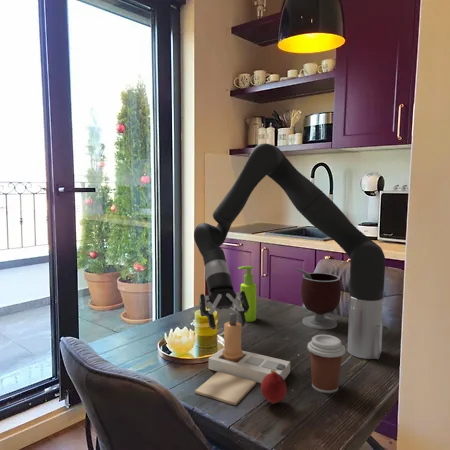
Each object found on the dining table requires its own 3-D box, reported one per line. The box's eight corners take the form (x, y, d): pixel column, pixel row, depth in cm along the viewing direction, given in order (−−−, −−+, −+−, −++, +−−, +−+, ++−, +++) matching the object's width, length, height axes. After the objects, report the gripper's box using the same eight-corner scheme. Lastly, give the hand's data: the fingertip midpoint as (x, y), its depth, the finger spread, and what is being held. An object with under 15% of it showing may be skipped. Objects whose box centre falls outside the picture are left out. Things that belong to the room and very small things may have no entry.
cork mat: (255, 384, 98) (255, 381, 98) (235, 405, 88) (235, 403, 88) (217, 373, 103) (217, 371, 103) (195, 392, 93) (195, 390, 93)
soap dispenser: (235, 317, 146) (235, 265, 144) (252, 315, 149) (253, 264, 146) (240, 322, 141) (241, 268, 139) (258, 320, 143) (259, 267, 141)
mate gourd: (336, 317, 147) (338, 265, 145) (342, 331, 133) (344, 274, 131) (295, 315, 149) (296, 264, 147) (296, 328, 135) (297, 272, 133)
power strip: (290, 372, 104) (290, 360, 103) (277, 387, 96) (278, 374, 96) (224, 356, 113) (224, 345, 113) (208, 369, 106) (208, 357, 105)
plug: (246, 364, 108) (246, 312, 107) (236, 373, 103) (237, 318, 102) (228, 360, 111) (228, 309, 109) (218, 368, 106) (218, 315, 104)
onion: (283, 396, 92) (284, 363, 91) (288, 410, 86) (289, 376, 86) (259, 396, 92) (259, 364, 91) (262, 410, 86) (262, 376, 85)
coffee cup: (339, 400, 91) (341, 350, 89) (301, 389, 95) (302, 342, 94) (347, 382, 99) (349, 337, 97) (312, 374, 103) (313, 330, 102)
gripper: (197, 272, 115) (206, 323, 105) (243, 269, 119) (255, 318, 109) (193, 285, 121) (202, 335, 111) (237, 282, 125) (249, 330, 115)
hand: (228, 326), depth 110 cm, fingers open, 8 cm apart
